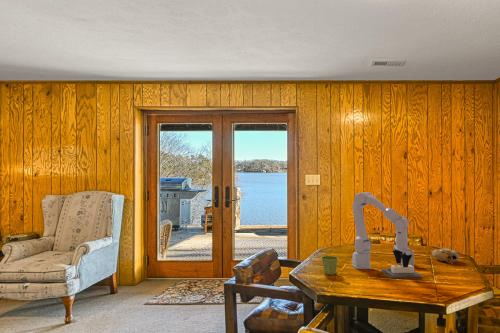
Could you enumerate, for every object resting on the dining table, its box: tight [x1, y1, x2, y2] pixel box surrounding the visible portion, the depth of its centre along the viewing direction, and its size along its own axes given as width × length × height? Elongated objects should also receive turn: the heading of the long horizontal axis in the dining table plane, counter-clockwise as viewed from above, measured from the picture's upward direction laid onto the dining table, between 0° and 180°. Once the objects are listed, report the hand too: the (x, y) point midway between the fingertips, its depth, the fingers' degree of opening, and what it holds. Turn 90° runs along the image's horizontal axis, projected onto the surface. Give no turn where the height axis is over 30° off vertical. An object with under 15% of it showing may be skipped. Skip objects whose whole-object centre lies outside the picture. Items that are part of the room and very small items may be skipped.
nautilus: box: [431, 248, 460, 266], centre depth 210 cm, size 8×21×15 cm
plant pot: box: [320, 255, 339, 276], centre depth 187 cm, size 9×9×9 cm
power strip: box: [390, 264, 415, 274], centre depth 183 cm, size 11×4×5 cm, turn 92°
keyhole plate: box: [381, 268, 422, 279], centre depth 185 cm, size 16×12×2 cm
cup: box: [400, 249, 415, 267], centre depth 204 cm, size 7×10×9 cm
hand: (401, 265), depth 183 cm, fingers open, 7 cm apart
